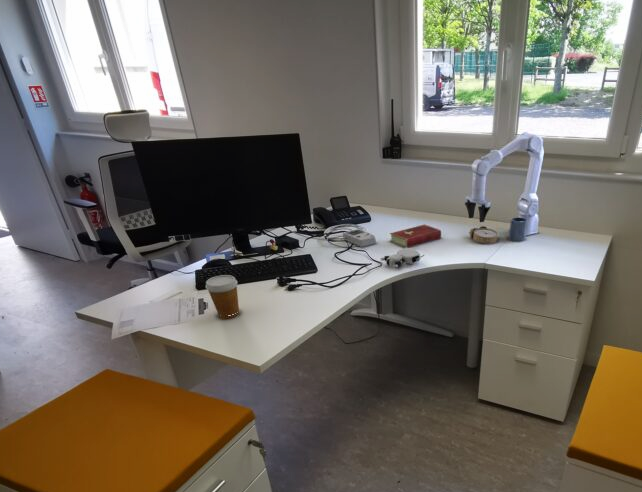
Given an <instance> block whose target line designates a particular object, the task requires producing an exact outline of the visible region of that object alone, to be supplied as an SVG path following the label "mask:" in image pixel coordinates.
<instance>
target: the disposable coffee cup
mask: <svg viewBox="0 0 642 492" xmlns="http://www.w3.org/2000/svg"><path fill="white" fill-rule="evenodd" d="M205 289H206V290H207V291H208V293H209V296H210V298H211V300H212V303H213V305H214V308H215V310H216V312H217V316H218V317H219V318H220V319H225V320H227V319H232V318H236V317H237V316H239V314H240V308H239V296H238V280H237V279H236V277H234V276H233V275H230V274H221V275H216V276H212V277H210V278H208V279H207V280H206V281H205ZM237 312H238V313H237ZM235 313H236V314H235ZM232 314H234V315H232ZM220 315H221V316H220ZM228 315H231V316H228Z"/></svg>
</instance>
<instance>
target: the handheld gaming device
mask: <svg viewBox="0 0 642 492" xmlns="http://www.w3.org/2000/svg"><path fill="white" fill-rule="evenodd" d="M342 238H343V240H345V241H347V242H349V243H352V244H354V245H356V246H358V247H360V248H362V247H363V248H365V247H369V246H372V245H375V244H376V242H377V239H376V236H375V235H374V234H372V233H370V232H367V231H365V230H363V229H360V228H356V229H352V230H347V231H344V232H343V233H342Z"/></svg>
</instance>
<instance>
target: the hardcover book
mask: <svg viewBox="0 0 642 492" xmlns="http://www.w3.org/2000/svg"><path fill="white" fill-rule="evenodd" d="M389 235H390V239H391V240H390V243H392V244H395V245H397V246H400V247H402V248H406V247H407V248H411V247H415V246H418V245H422V244H425V243H426V244H427V243H429V242H433V241H436V240H439V239H441V238H442V230H441V229H440V228H436V227H433V226H430V225H427V224H425V223H423V224H420V225H416V226H413V227H409V228H405V229H401V230H397V231H393V232H389Z"/></svg>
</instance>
